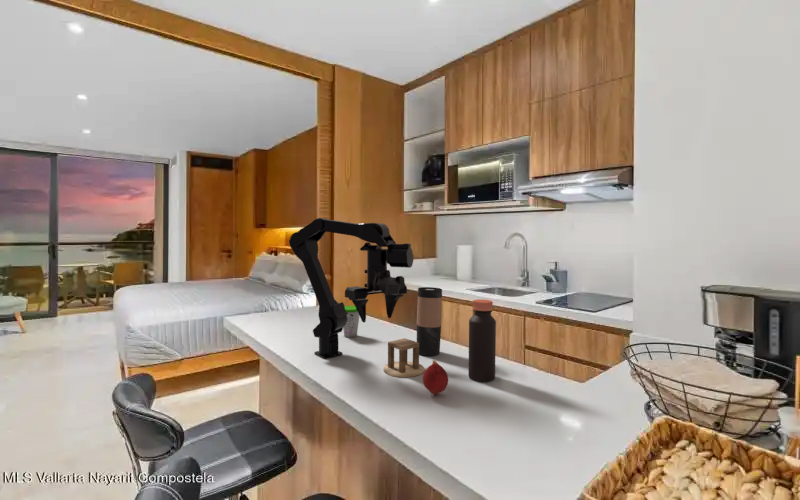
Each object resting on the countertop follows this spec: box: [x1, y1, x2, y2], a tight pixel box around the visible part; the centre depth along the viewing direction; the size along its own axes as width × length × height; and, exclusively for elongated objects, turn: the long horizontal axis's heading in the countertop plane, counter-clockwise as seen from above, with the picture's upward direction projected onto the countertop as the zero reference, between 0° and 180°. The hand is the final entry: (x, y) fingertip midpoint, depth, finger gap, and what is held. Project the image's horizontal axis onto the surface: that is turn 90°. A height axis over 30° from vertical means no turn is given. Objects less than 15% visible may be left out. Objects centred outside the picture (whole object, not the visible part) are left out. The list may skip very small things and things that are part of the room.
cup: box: [342, 305, 360, 339], centre depth 141 cm, size 8×8×15 cm
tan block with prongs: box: [387, 337, 420, 373], centre depth 107 cm, size 6×6×7 cm
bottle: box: [467, 299, 497, 383], centre depth 101 cm, size 7×7×20 cm
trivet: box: [383, 360, 425, 378], centre depth 107 cm, size 11×11×1 cm
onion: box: [422, 359, 449, 396], centre depth 90 cm, size 6×6×8 cm
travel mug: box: [416, 286, 443, 357], centre depth 122 cm, size 8×8×20 cm
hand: (376, 319), depth 114 cm, fingers open, 9 cm apart
